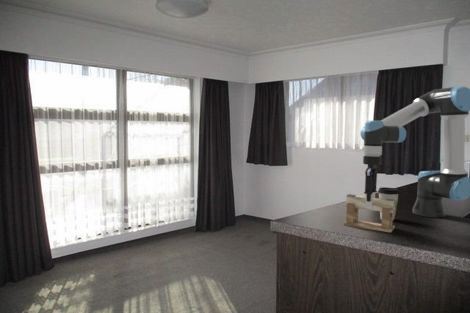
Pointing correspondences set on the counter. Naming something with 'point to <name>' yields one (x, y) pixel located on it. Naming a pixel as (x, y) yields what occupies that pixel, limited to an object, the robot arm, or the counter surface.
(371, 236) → the counter surface
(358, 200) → the rail
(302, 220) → the counter surface
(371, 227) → the wooden stand
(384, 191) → the coffee cup
